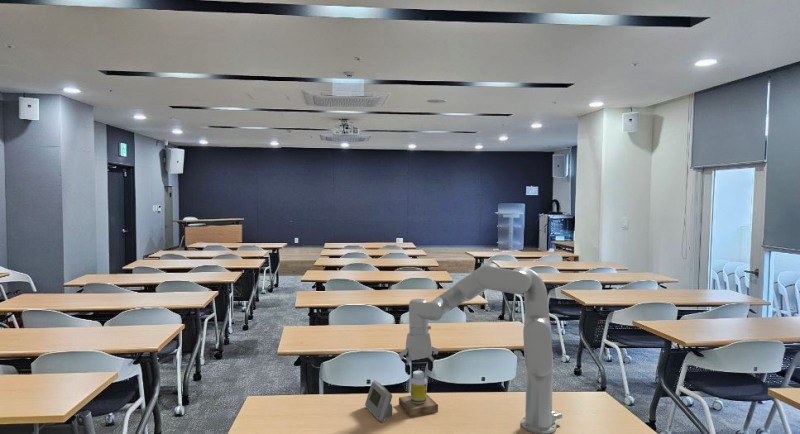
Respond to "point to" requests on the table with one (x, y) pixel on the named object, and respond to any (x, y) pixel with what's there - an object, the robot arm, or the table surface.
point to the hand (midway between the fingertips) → (419, 372)
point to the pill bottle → (418, 388)
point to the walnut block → (418, 406)
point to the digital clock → (379, 401)
